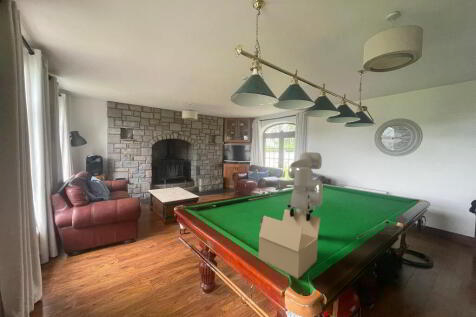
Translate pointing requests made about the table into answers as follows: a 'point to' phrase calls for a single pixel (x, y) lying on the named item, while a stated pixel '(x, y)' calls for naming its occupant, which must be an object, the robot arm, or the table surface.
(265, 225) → the front flap
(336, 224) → the table surface
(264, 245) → the carton
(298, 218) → the rear flap
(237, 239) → the table surface
